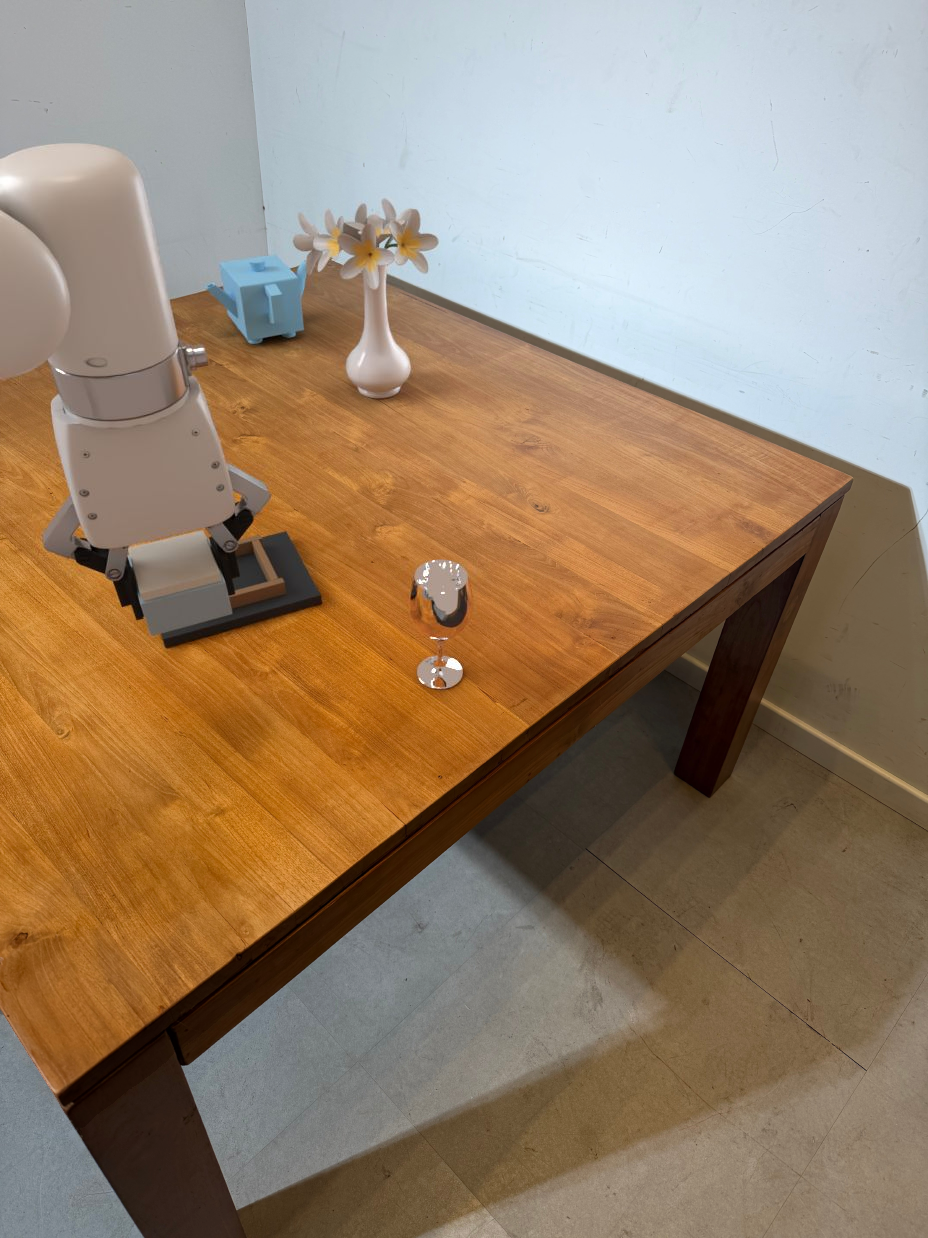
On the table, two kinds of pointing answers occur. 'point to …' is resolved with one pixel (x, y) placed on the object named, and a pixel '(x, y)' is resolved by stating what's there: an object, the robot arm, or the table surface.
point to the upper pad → (178, 582)
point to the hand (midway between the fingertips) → (182, 594)
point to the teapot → (262, 296)
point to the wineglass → (440, 616)
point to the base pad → (259, 588)
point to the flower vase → (371, 284)
